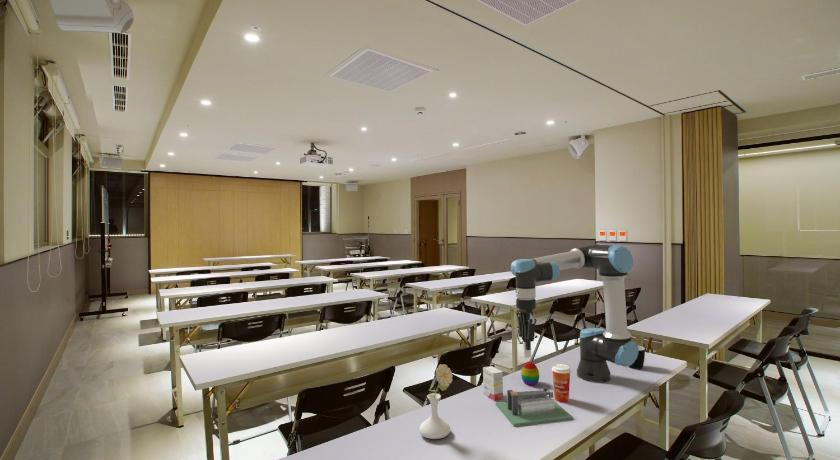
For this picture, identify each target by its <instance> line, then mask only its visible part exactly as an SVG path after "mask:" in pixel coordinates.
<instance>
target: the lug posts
mask: <svg viewBox="0 0 840 460" xmlns="http://www.w3.org/2000/svg"><path fill="white" fill-rule="evenodd" d="M511 391H514V390H513V389H507V390H506V395H507V397H506V398H507V400H506V401H507V407H508V410H510V409H512V414H513V415H516V414H518V402H517V394H516V395H512V397H511V396H510V392H511Z"/></svg>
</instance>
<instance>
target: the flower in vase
mask: <svg viewBox="0 0 840 460" xmlns="http://www.w3.org/2000/svg"><path fill="white" fill-rule="evenodd" d="M435 376H436V381H438V384H437V388H436V389H435V390H434V389H432V388H428V391H429V392H431V393H429V394H427V395H426V397H427V399H428V401H429V404H430V409H431V410H430V411H431V412H430V416H429V417H428V418H427V419H425V420H424V421H423V422H421V424H420V425H419V428H418V431H419V433H420V435H421V436H422V437H424V438H427V439H432V440H438V439H444V438H445V437H447V436H448V435H449V434H450V432H451V426H450V425H449V424H448V422H447V421H446V420H444V419H442V418H441V417H440V416H439V414H438V405H439V401H440V399H441V397H442V395H441V394H439V393H437V392H438V391H439V390H438V389H440V390H441V391H446V390H447V389H448V388H449V386H450V384H452V382H453V377H454V375H453V373H452V371H451V368H450V367H448V365H447V364H444V363H443V364H439V365H438V367H437V368H436V369H435ZM432 392H433V393H432Z"/></svg>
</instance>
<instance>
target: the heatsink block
mask: <svg viewBox="0 0 840 460" xmlns="http://www.w3.org/2000/svg"><path fill="white" fill-rule="evenodd" d="M546 389H547V390H548V391H549V389H548V387H542V390H546ZM553 398H554V391H549V395H544V396H530V397H517V402H518V414H519V415H520V416H521V417H527V416H535V415H543V414H551V413H555V403H554V401H555V398H554V399H553Z"/></svg>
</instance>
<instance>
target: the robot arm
mask: <svg viewBox="0 0 840 460" xmlns="http://www.w3.org/2000/svg"><path fill="white" fill-rule="evenodd" d="M633 266H634V257H633V254H632V252H631V251H630V250H629V249H628V248H627V247H625V246H623V245H618V244H599V243H598V244H597V243H595V244H589V245H583V246H580V247H575V248H572V249H570V251H565V252H560V253H556V254H550V255H544V256H540V257H534V258H519V259H516V260H513V261H512V263H511V264H510V271H511V274H512V275H513V276H515V297H516V299H515V307H516V309H518V310H519V312H516V317H517V323H518V325H517V326H518V333H519V337H520V338H521V340H522V357H523V358H524V359H529V358H530V359H531V358H532V347H531V346H532V345H531V344H532V342H534V341H535V332H536V324H537V318H534V313H533V310H535V309H536V308H537V306H536V305H537V300H536V295H537V294H536V293H537V291H536V283H542V282H551V281H555V280H558V279H559V278H560V274H561V271H563V270H567V269H574V268H575V269H576V270H577V269H582V268H583V269H592V270H598V276H599V277H600V278H602V284H603V299H604V301H603V302H604V315H605V328H601V327H589V328H588V327H587V328H583V329H581V330H580V331H579V355H580V356H579V358H580V359H579V362H578V365H577V368H576V376H577V377H578V378H580V379H581V380H584V381H587V382H594V383H605V382H609V381H610V380H611V378H612V376H611V375H612V374H611V371H610V368H609V366H608V363H607V362H610V363H612V364H615V365H616V366H622V367H625V368H626V367H628V366H630V365H632V364H633V363H634V362H635V360H636V358H637V356H638V351H639V350H638V346H639V345H638V344H637V343H636V342H635V341H632V340H633V339H632V337H633V336H632V334H631V333H630V332H629V331H628V321H627V320H628V319H627V305H626V303H627V302H626V287H625V278H627V276H628V273H629V272H631V270H632V269H633V268H632V267H633Z"/></svg>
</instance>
